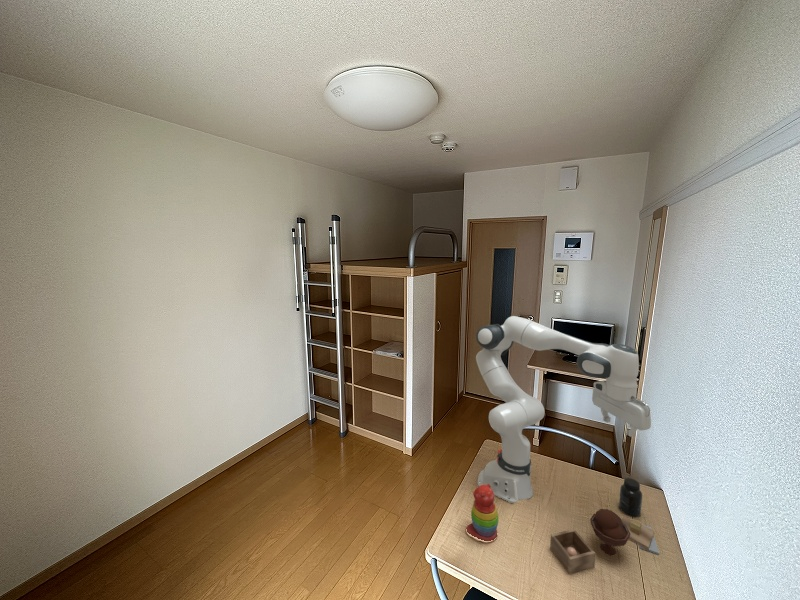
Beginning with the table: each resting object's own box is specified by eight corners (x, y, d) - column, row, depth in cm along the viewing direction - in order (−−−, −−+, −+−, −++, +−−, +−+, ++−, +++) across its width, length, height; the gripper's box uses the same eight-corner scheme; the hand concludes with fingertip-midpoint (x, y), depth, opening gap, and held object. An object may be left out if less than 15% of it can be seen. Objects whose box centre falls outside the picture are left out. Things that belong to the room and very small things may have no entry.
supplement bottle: (644, 519, 118) (647, 489, 116) (623, 516, 119) (626, 487, 117) (634, 504, 124) (637, 477, 123) (615, 502, 126) (617, 475, 124)
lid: (648, 550, 105) (649, 538, 104) (616, 533, 111) (617, 522, 111) (654, 533, 111) (655, 522, 110) (623, 518, 117) (624, 508, 117)
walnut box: (569, 576, 98) (570, 559, 97) (550, 550, 106) (550, 534, 106) (594, 569, 100) (595, 553, 99) (573, 544, 108) (573, 528, 107)
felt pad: (618, 541, 109) (618, 539, 109) (614, 517, 119) (614, 516, 118) (659, 554, 104) (659, 553, 104) (651, 528, 113) (651, 527, 113)
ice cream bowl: (629, 573, 98) (633, 530, 96) (587, 556, 104) (590, 515, 102) (627, 546, 107) (630, 507, 105) (588, 532, 113) (591, 494, 111)
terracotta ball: (565, 559, 102) (566, 550, 102) (566, 551, 105) (566, 542, 105) (577, 563, 101) (577, 555, 100) (577, 555, 104) (577, 546, 103)
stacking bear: (479, 514, 122) (479, 472, 119) (503, 530, 114) (504, 486, 112) (463, 532, 114) (463, 488, 111) (488, 550, 107) (489, 503, 104)
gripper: (658, 403, 100) (654, 443, 102) (604, 379, 120) (601, 413, 122) (641, 406, 99) (638, 446, 101) (590, 381, 119) (587, 415, 121)
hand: (617, 428), depth 112 cm, fingers open, 8 cm apart
